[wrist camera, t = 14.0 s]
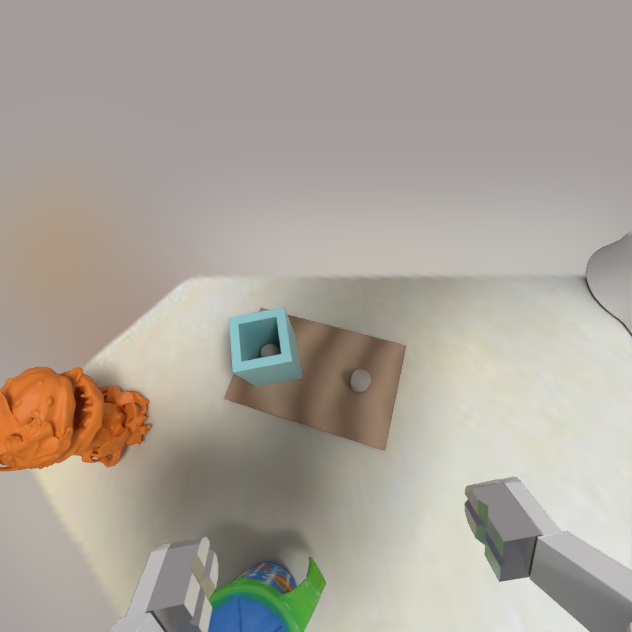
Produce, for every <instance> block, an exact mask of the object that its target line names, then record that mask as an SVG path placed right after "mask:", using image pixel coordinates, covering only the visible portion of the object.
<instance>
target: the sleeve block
mask: <svg viewBox="0 0 632 632" xmlns="http://www.w3.org/2000/svg"><path fill="white" fill-rule="evenodd" d="M229 325H230V340H231V355H232V369H233V373H234V374H236V375H238V376H239V377H241V378H243V379H244V380H246V381H248V382H249V383H251V384H253V385H254V386H256V387H258V386H264V385H269V384H274V383H279V382H285V381H290V380H295V379H301V378H302V373H301V367H300V361H299V354H298V348H297V342H296V335H295V333H294V330H293V328H292V325H291V323H290V321H289V318H288V316H287V313H286V311H285V309H284V307H283V308H277V309H272V310H267V311H261V312H256V313H251V314H246V315H240V316H235V317H230V318H229ZM267 344H274V345H279V344H280V347H281V354H279V355H274V356H268V357H263V358H261V356H260V348H263V347H264V346H265V345H267Z"/></svg>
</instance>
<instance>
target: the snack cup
mask: <svg viewBox="0 0 632 632" xmlns="http://www.w3.org/2000/svg"><path fill="white" fill-rule="evenodd" d="M325 585H326V582H325V579H324V577H323V575H322V574H321V572H320V570H319V568H318V567H317V565H316V563H315V562H314V560H313V559H312V557H309V567H308V573H307V578H306V579H305V580H304V581H303V582H302V583H301V584H300V585H299V586H298V587H297V586H296V583H295V580H294V579H293V578H292V576H291V575H290V574H289V573H288V572H287V571H286V570H285V569H283V568H282V567H281V566H279V565H277V564H273V563H268V562H264V563H260V564H258V565H255V566H253V567H252V568H250V569H248V570H247V571H245V572H244V573H243V574H242V575H240V576H239V577H238V578H236V579H235V580H234V581H232V582H229V583H227V584H225V585H223V586H221V587H220V588H218V589H217V590H216V591H214V592H213V594H212V595H211V597H210V598H209V600H210V603H211V606H212V612H211V617H210V622H209V627H208V632H304V630H305V628H306V626H307V624H308V622H309V620H310V618H311V616H312V614H313V612H314V610H315V607H316V605H317V603H318V601H319V598H320V596H321V593H322V591H323V588H324V587H325Z"/></svg>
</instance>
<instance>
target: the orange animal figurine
mask: <svg viewBox="0 0 632 632" xmlns="http://www.w3.org/2000/svg"><path fill="white" fill-rule="evenodd" d="M103 393H104V394H103ZM148 403H149V401H148V400H146V399H145V398H142V397H141V396H140V394H139V393H137V392H134V391H131V392H128V391H124V392H122V391H120V388H119V387H118V386H107V387H102V388H99V387H98V383H97V382H95V381H94V380H93V379H92V378H91V377H89V376H87V375H85V374H83V370H82V369H81V368H74V369H72V370H71V371H68V372H64V373H61V374H57V373H56V372H54V371H53V370H52V369H50V368H48V367H35V368H30V369H28V370H26V371H24V372H23V373H21V374H20V375H19V376H17V377H15V378H10V379H8V380H7V381H6V384H5V385H4V386H3V387H2V388H1V389H0V464H2V465H7V466H9V467H0V471H14V470H21V469H26V468H30V469H33V468H39V469H42V468H43V467H48V466H50V465H53V464H54V463H60V462H62V461H64V460H66V459H67V458H69V457H70V456H72V455H79V456H81V457H82V461H83V462H88V463H94V462H102V463H104V464H105V466H107V467H111V466H115V465H116V464H117V463H118V461H119V459H120V457H121V453H122V448H123V447H124V446H125V445H133V444H136V443H139V445H140V443H142V442H143V441H144V440H145V439H143V440H142V441H141V437H142V435H144V434H147V431H148V430H149V428H151V426H150V425H146V426H143V425H144V420H146V419H147V417H146V416H144V414H145V413H146V411H147V406H146V404H148ZM137 404H138V405H140V406H141V407H142V409H141V408H140V407H139V406H138V405H137ZM112 453H113V455H111V456H113V458H112V460H111V459H109V458H108V457H107V455H110V454H112ZM93 457H99V459H98V460H95V459H92V458H93Z"/></svg>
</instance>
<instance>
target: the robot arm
mask: <svg viewBox="0 0 632 632" xmlns="http://www.w3.org/2000/svg"><path fill="white" fill-rule="evenodd" d="M586 277H587V282H588V285H589V287H590V289H591V291H592V293H593V295H594V296H595V298H596V299H597V300H598V301H599V303H600V304H601V305H602V306H603V307H604V308H605V309H606V310H608V311H609V312H610V313H611V314H613V315H614V316H615V317H617V318H618V319H620V320H621V321H622V322H623V323H624V324H625V325H626V327H627V328H628V329H629V331H630V332H631V333H632V232H630V233H628V234H627V235H625V236H624V237H623V238H622V239H621V240H619V241H617V242H614V243H612V244H610V245H607V246H605V247H602V248H601V249H599V250H597V251H596V252H595V253H594V254H593V255H592V256H591V258H590V259H589V261H588V264H587V269H586ZM465 495H466V496H467V498H468V500H467V501H466V502H465V514H466V517H467V521H468V523H469V526H470V528H471V530H472V532H473V534H474V536H475V538H476V539H478V540H479V541H480V542H482V543H483V544H484V545H485V556H486V558H487V560H488V562H489V564H490V566H491V567H492V569H493V571H494V573H495V575H496V577H497V579H498V580H499V582H501V581H507V580H513V579H519V578H526V577H530V580H532V581H533V582H534V583H535V584H536V585H537V586H538V587H540V588H541V589H542V590H543V591H544V592H545V593H546V594H548V595H549V596H550V597H551V598H552V599H553V600H554V601H556V602H557V603H558V604H559V605H560V606H561V607H562V608H564V609H565V610H566V611H567V612H568V613H569V614H570V615H572V616H573V617H574V618H575V619H576V620H577V621H578V622H580V623H581V624H582V625H583V626H584V627H585V628H586V629H588V630H589V631H590V632H632V570H630V569H628V568H627V567H625V566H623V565H622V564H620V563H619V562H617V561H615V560H614V559H612V558H610V557H609V556H607V555H606V554H604V553H602V552H601V551H599V550H597V549H596V548H594V547H593V546H591V545H589V544H588V543H586V542H584V541H583V540H581V539H580V538H578V537H576V536H575V535H573V534H571V533H570V532H568V531H564V532H562V531H561V530H560V529H559V527H558V526H557V525H556V524H555V522H554V521H553V520H552V519H551V517H550V516H549V515H548V514H547V513H546V511H545V510H544V509H543V508H542V506H541V505H540V504H539V503H538V501H537V500H536V499H535V498H534V496H533V495H532V494H531V493H530V492H529V490H528V489H527V488H526V487H525V485H524V484H523V483H522V482H521V480H519V479H518V478H517V477H508V478H504V479H499V480H497V479H496V480H492V481H487V482H482V483H478V484H473V485H469V486H467V487H466V488H465ZM209 546H210V542H209V540H208V538H207V537H201V538H196V539H190V540H185V541H180V542H173V543H168V544H163V545H158V546H155V548H154V549H153V550H152V552H151V553H150V556H149V558H148V561H147V563H146V566H145V568H144V571H143V573H142V576H141V578H140V581H139V584H138V586H137V589H136V591H135V594H134V596H133V599H132V601H131V604H130V606H129V609H128V611H127V614H126V616H125V617H122V618H120V619H119V620H118V621H117V622H116V624H115V625H114V626H113V627H112V628H111V630H110V631H109V632H208V627H209V622H210V617H211V612H212V606H211V603H210V600H209V598H210V597H211V595H212V594H213V592H214V591H215V589H216V586H217V580H218V559H217V556H216V554H215V552H214V551H212V550H210V549H209Z"/></svg>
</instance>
